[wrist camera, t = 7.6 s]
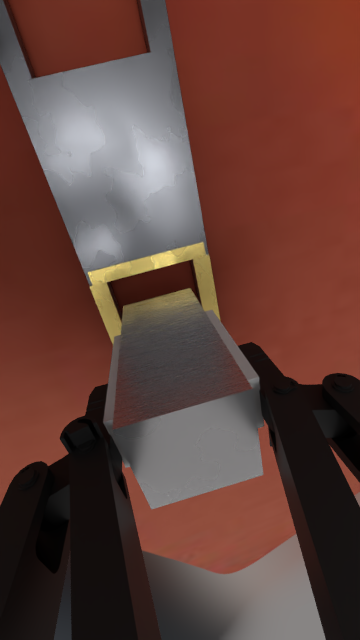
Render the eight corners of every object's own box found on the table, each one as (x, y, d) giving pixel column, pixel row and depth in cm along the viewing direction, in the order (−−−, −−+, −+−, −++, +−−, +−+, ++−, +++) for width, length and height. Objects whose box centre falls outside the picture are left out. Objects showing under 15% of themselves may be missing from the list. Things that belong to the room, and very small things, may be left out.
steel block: (123, 306, 17) (112, 429, 8) (190, 287, 17) (252, 388, 8) (142, 361, 19) (151, 509, 10) (202, 344, 19) (263, 474, 10)
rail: (-113, -238, 10) (-148, -298, 9) (111, -275, 11) (108, -337, 9) (132, 382, 25) (132, 392, 23) (223, 356, 25) (227, 364, 24)
